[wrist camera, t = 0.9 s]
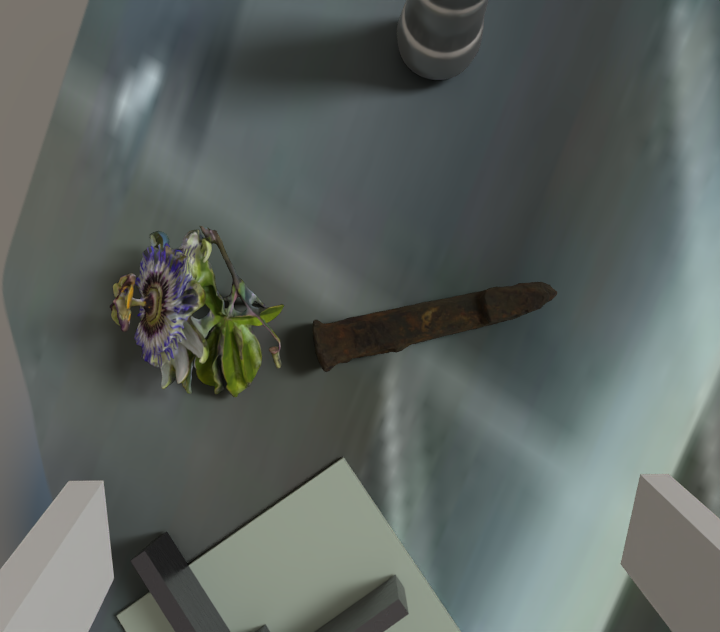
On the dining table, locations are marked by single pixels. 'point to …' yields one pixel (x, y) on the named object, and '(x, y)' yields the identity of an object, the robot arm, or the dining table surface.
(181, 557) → the hinge base
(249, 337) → the passion flower
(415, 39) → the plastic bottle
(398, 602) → the bolted dark bar
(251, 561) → the mat
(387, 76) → the dining table surface
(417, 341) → the hand tool
